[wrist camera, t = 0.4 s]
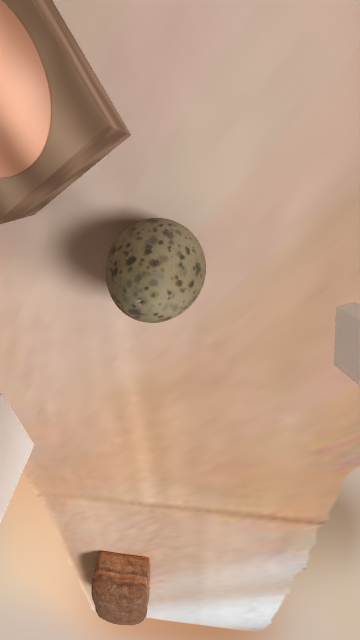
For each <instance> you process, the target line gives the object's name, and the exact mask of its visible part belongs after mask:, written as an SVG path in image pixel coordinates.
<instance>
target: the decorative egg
mask: <svg viewBox="0 0 360 640" xmlns="http://www.w3.org/2000/svg"><path fill="white" fill-rule="evenodd" d="M205 274H206V263H205V257H204V253H203V250H202V247H201V245H200V243H199V242H198V240H197V239H196V237H195V236H194V235H193V234H192V233H191V232H190V231H189V230H188V229H187V228H186V227H184V226H183V225H181V224H179V223H177V222H175V221H172V220H169V219H163V218H151V219H146V220H142V221H140V222H137V223H135V224H133V225H132V226H130V227H129V228H127V229H126V230H125V231H124V232H123V233H122V234H121V235H120V236H119V237H118V238H117V240H116V241H115V243H114V245H113V246H112V248H111V251H110V253H109V256H108V260H107V266H106V280H107V286H108V289H109V292H110V295H111V297H112V299H113V301H114V302H115V304H116V305H117V307H118V308H119V309H120V310H121V311H122V312H123V313H125V314H126V315H128V316H129V317H131V318H133V319H135V320H138V321H142V322H148V323H157V322H163V321H166V320H169V319H172V318H174V317H176V316H178V315H180V314H181V313H183V312H184V311H185V310H186V309H188V308H189V307H190V306H191V305H192V303H193V302H194V301H195V300H196V298H197V297H198V295H199V293H200V291H201V289H202V286H203V283H204V279H205Z"/></svg>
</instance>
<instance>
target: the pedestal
mask: <svg viewBox="0 0 360 640" xmlns="http://www.w3.org/2000/svg"><path fill="white" fill-rule="evenodd" d="M130 135H131V134H130V133H129V131H128V129H127V127H126V126H125V124H124V122H123V121H122V119H121V117H120V115H119V114H118V112H117V110H116V109H115V107H114V105H113V104H112V102H111V100H110V98H109V97H108V95H107V93H106V92H105V90H104V88H103V86H102V85H101V83H100V81H99V80H98V78H97V76H96V75H95V73H94V71H93V69H92V68H91V66H90V64H89V63H88V61H87V59H86V57H85V56H84V54H83V52H82V51H81V49H80V47H79V46H78V44H77V42H76V40H75V39H74V37H73V35H72V34H71V32H70V30H69V28H68V27H67V25H66V23H65V22H64V20H63V18H62V16H61V15H60V13H59V11H58V10H57V8H56V6H55V5H54V3H53V1H52V0H0V224H2V223H6V222H10V221H13V220H17V219H20V218H24V217H27V216H31V215H34V214H35V213H37V212H38V211H39V210H40V209H42V208H43V207H44V206H45V205H46V204H48V203H49V202H50V201H51V200H52V199H54V198H55V197H56V196H57V195H59V194H60V193H61V192H62V191H63V190H65V189H66V188H67V187H68V186H69V185H71V184H72V183H73V182H74V181H76V180H77V179H78V178H79V177H80V176H82V175H83V174H84V173H85V172H86V171H88V170H89V169H90V168H91V167H93V166H94V165H95V164H96V163H97V162H99V161H100V160H101V159H102V158H103V157H105V156H106V155H107V154H108V153H110V152H111V151H112V150H113V149H114V148H116V147H117V146H118V145H119V144H120V143H122V142H123V141H124V140H125V139H126V138H128V137H129V136H130Z"/></svg>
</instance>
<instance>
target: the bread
mask: <svg viewBox="0 0 360 640" xmlns="http://www.w3.org/2000/svg"><path fill="white" fill-rule="evenodd" d="M149 583H150V561H149V558H147V557H141V556H134V555H126V554H119V553H113V552H106V551H101V552H100V553H99V556H98V559H97V564H96V569H95V575H94V576H93V578H92V598H93V601H94V604H95V607H96V612H97V614H98V616H99V617H100V618H102V619H104V620H106V621H108V622H111V623H114V624H120V625H135V624H139V623H140V622H142V621H143V620H144V618H145V617H146V613H147V605H148V600H149V589H150V587H149Z"/></svg>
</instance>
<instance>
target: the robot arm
mask: <svg viewBox="0 0 360 640" xmlns="http://www.w3.org/2000/svg"><path fill="white" fill-rule="evenodd" d="M334 365H335V366H336V367H338V368H339V369H340V370H341V371H342V372H344V373H345V374H346V375H347V376H349V377H350V378H351V379H352V380H353V381H355V382H356V383H357V384H358V385H360V305H359V304H357V303H355V302H354V303H350V304H346V305H342V306H338V307H336V325H335V352H334ZM33 446H34V444H33V442H32V441H31V439H30V438H29V436H28V434H27V433H26V431H25V429H24V428H23V426H22V424H21V423H20V421H19V420H18V418H17V416H16V415H15V413H14V411H13V410H12V408H11V406H10V405H9V403H8V402H7V400H6V398H5V397H4V395H3V393H1V394H0V523H1V521H2V519H3V516H4V514H5V512H6V509H7V507H8V505H9V502H10V500H11V498H12V495H13V493H14V491H15V488H16V486H17V483H18V481H19V479H20V477H21V474H22V472H23V470H24V467H25V465H26V463H27V460H28V458H29V456H30V453H31V451H32V449H33Z"/></svg>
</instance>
